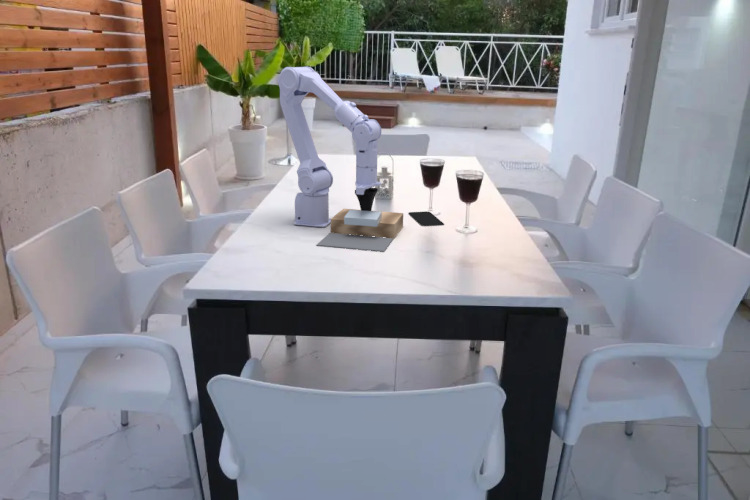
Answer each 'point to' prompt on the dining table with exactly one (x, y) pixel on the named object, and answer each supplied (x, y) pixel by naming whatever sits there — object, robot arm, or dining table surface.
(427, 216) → the smartphone
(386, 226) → the tan flat wooden block
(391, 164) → the dining table surface
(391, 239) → the mat
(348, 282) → the dining table surface
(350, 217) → the tile
